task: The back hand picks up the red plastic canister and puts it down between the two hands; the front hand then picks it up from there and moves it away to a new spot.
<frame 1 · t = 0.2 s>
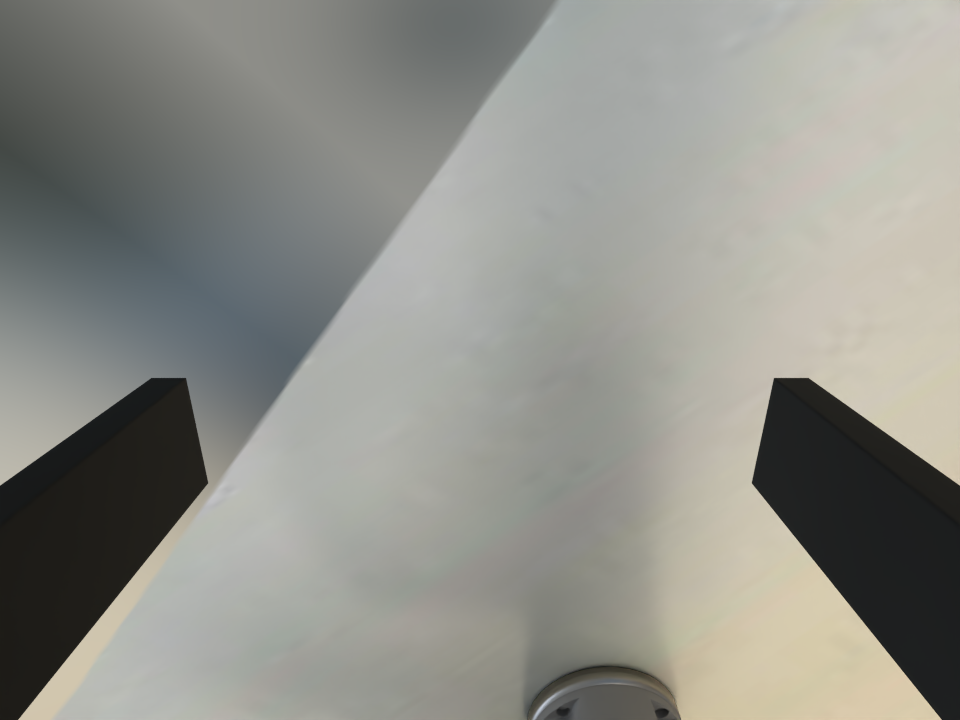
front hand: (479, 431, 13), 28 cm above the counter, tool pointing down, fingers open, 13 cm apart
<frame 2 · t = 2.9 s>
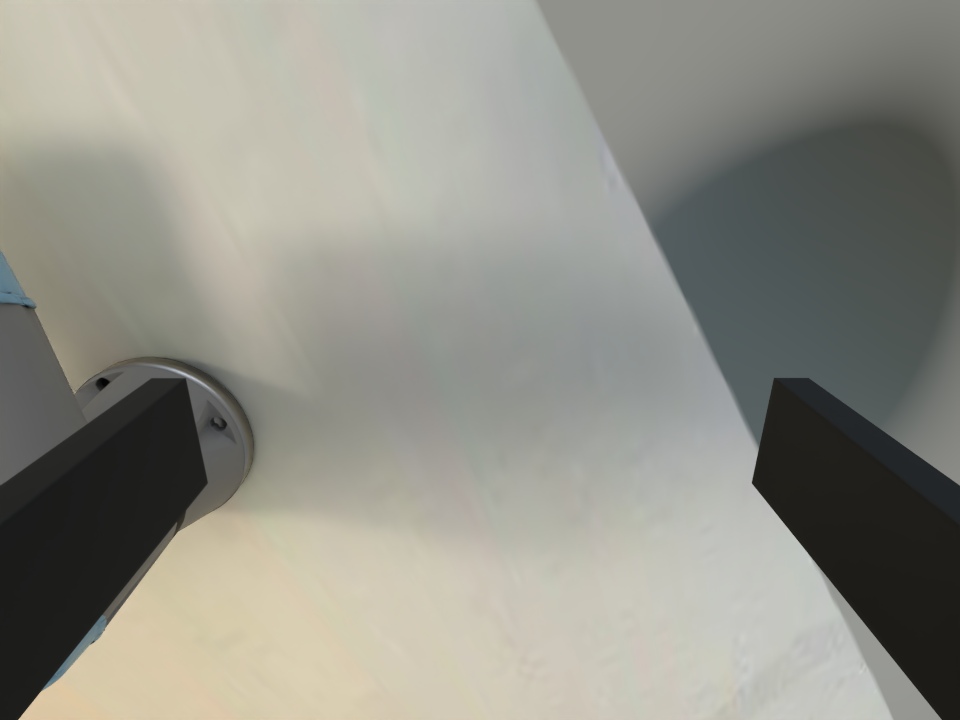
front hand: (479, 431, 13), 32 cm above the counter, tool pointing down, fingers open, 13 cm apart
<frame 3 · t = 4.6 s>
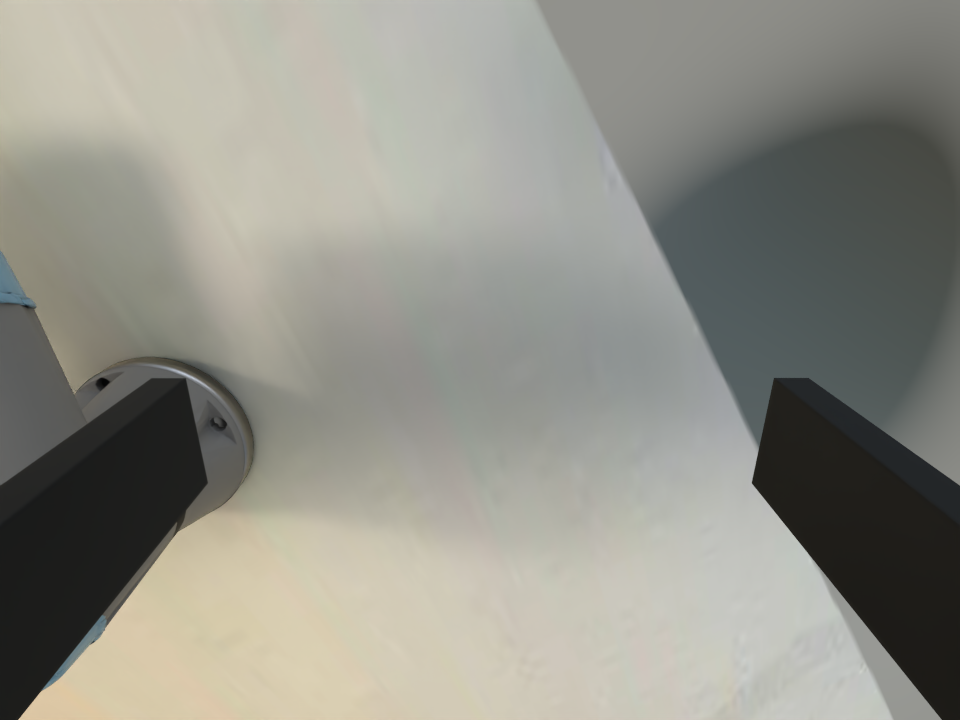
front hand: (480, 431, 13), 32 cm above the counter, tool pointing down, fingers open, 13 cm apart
when the back hand's fingers open (5 cm above the counter, at t = 6.6 s): canister drops 1 cm, on the counter.
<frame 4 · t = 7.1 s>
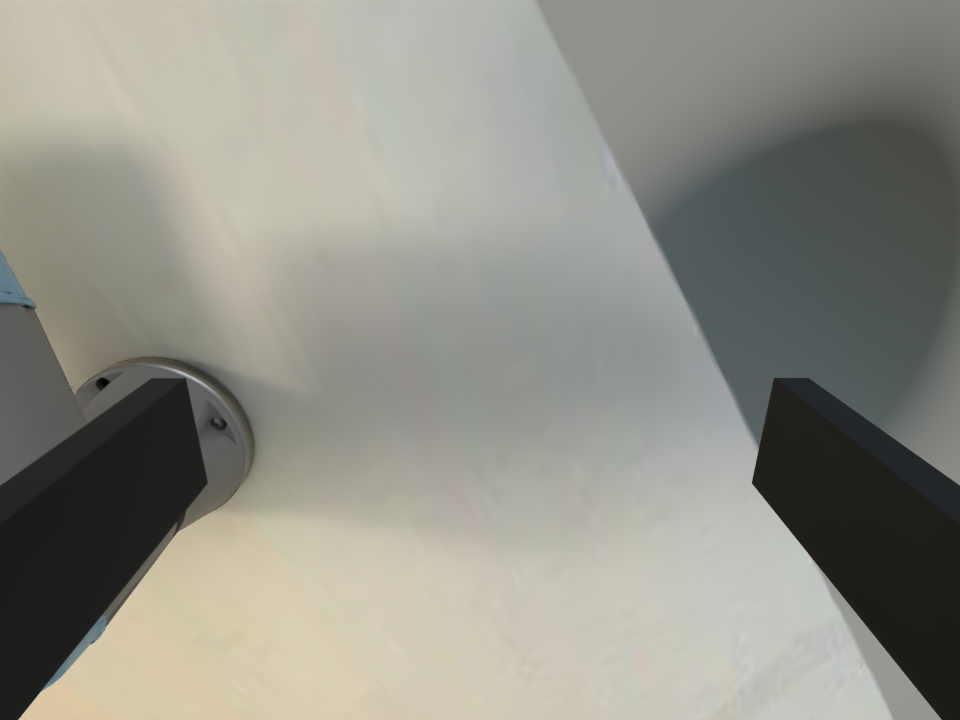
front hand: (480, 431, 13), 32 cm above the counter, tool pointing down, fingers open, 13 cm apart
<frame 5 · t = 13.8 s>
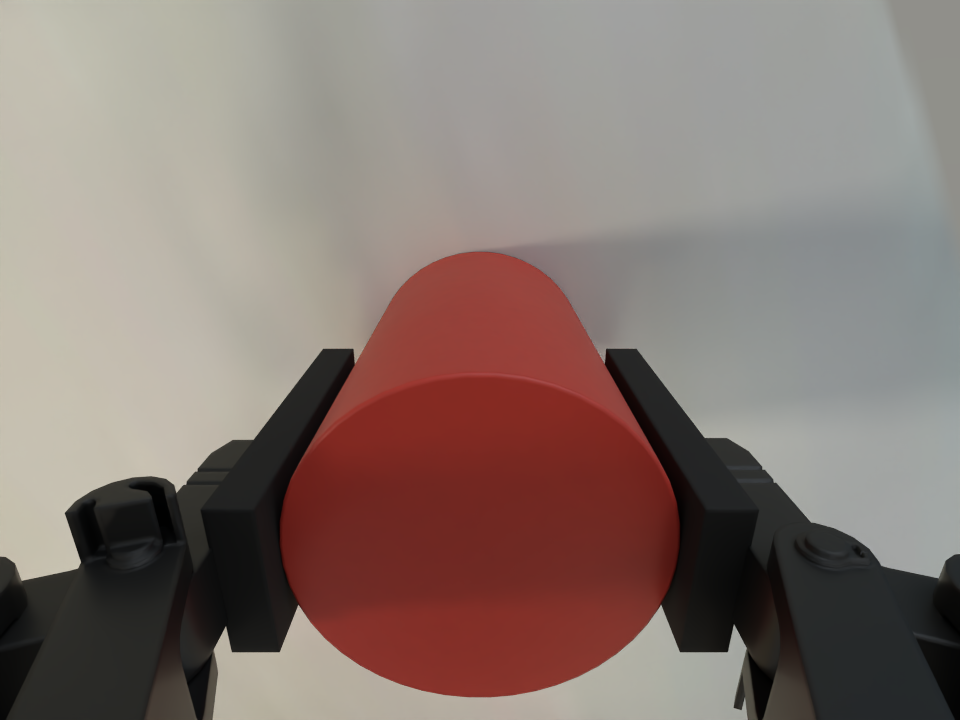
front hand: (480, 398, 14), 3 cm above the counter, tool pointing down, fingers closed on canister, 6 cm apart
canister: (479, 352, 17), on the counter, touching front hand
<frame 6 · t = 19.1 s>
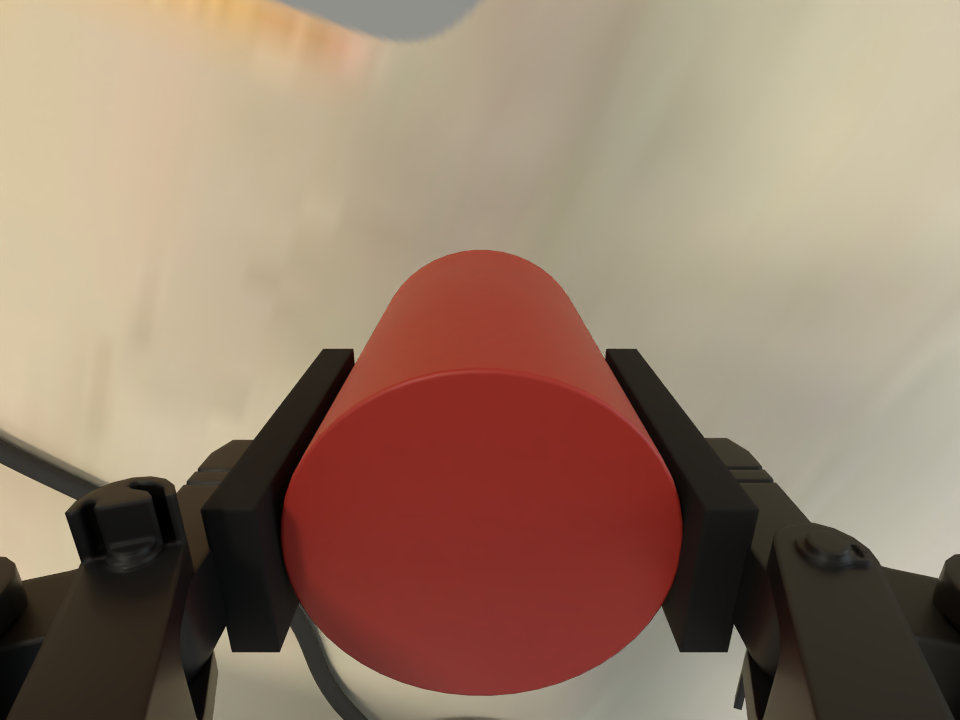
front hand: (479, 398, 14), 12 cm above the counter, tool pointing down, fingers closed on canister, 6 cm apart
canister: (480, 350, 17), point 9 cm above the counter, touching front hand
when the front hand's fingers open (5 cm above the counter, at t = 24.3 s): canister drops 1 cm, on the counter.
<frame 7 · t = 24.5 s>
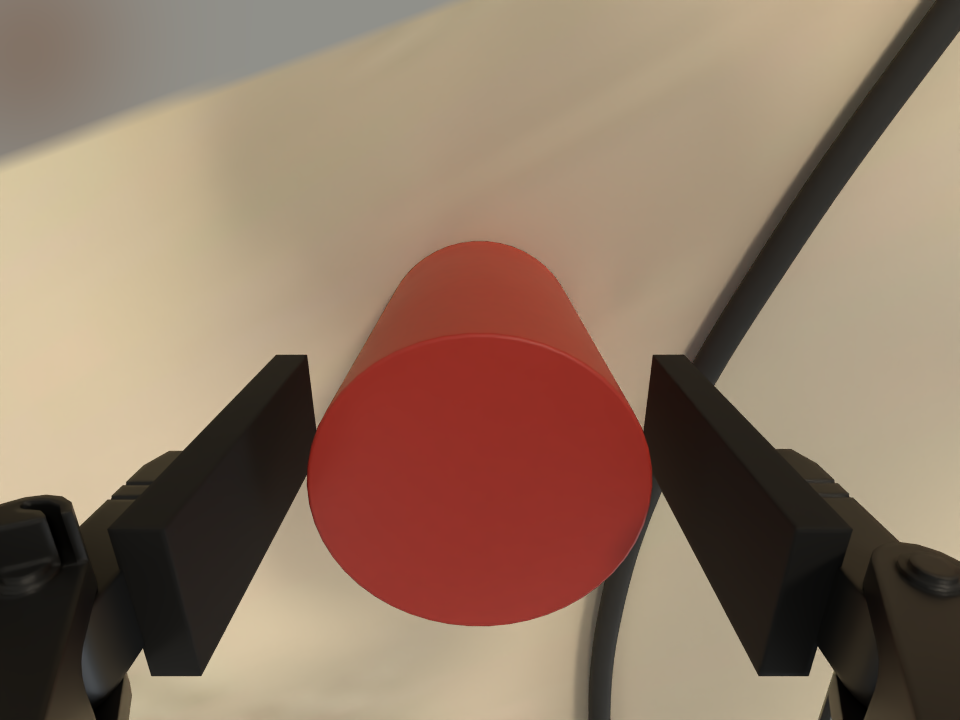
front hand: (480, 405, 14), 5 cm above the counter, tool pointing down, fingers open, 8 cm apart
canister: (479, 335, 19), on the counter
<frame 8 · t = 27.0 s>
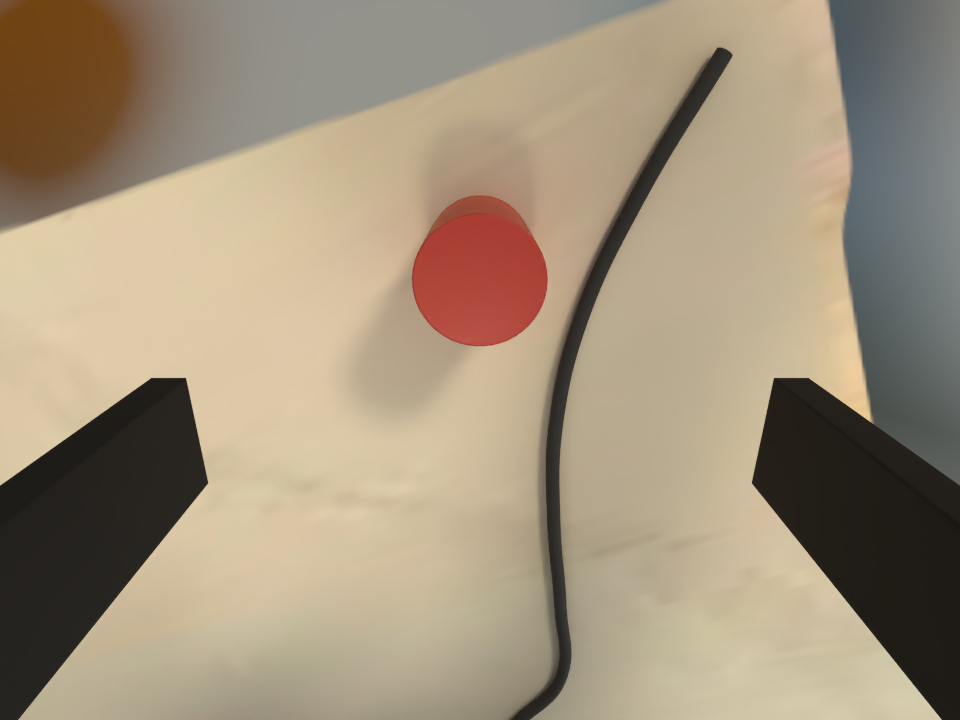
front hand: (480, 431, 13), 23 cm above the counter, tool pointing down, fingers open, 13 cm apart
canister: (479, 248, 34), on the counter
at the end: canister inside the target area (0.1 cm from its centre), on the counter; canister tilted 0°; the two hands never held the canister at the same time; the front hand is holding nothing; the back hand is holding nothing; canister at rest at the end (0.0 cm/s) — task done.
